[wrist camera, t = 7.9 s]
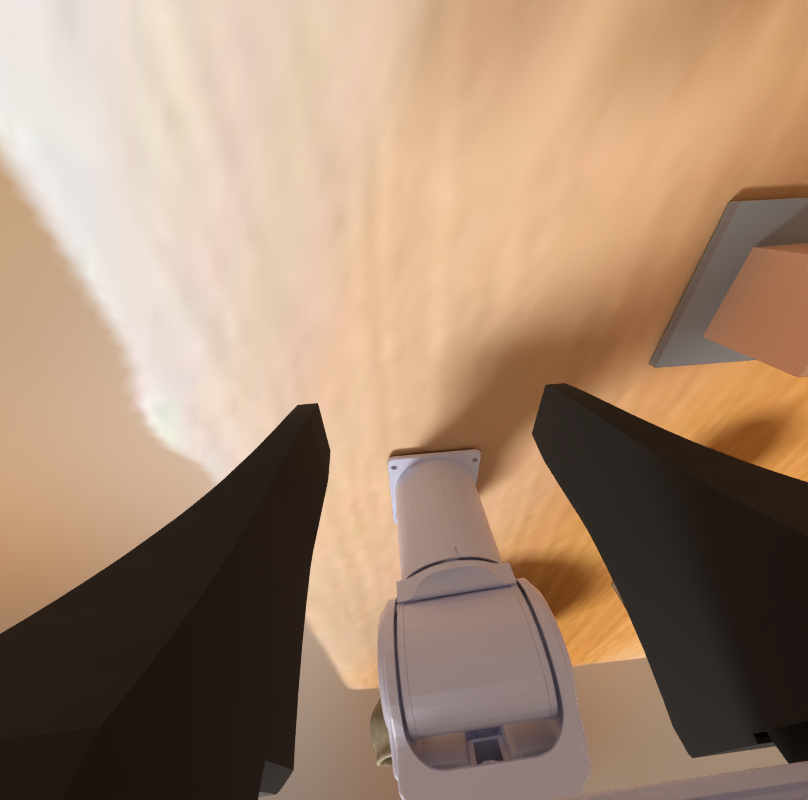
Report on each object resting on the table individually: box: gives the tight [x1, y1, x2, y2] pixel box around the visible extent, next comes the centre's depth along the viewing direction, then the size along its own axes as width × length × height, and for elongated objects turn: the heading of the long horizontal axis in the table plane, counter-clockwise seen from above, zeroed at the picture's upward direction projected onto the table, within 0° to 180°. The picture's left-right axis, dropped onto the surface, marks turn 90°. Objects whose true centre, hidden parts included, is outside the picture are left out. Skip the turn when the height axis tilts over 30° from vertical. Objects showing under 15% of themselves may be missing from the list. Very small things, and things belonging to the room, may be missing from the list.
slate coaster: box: [649, 197, 808, 368], centre depth 19 cm, size 10×10×1 cm
